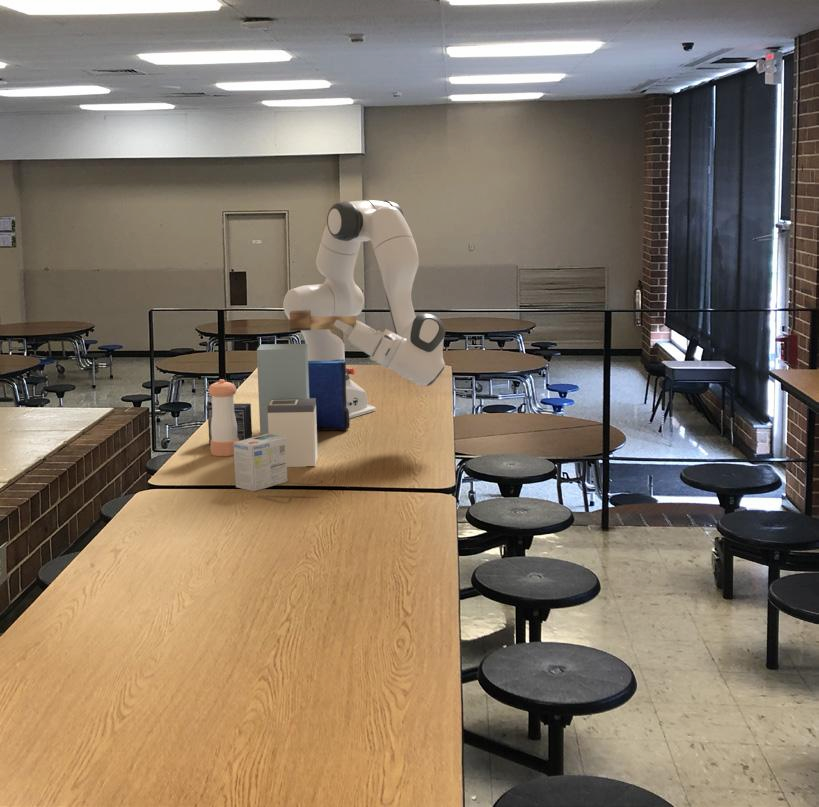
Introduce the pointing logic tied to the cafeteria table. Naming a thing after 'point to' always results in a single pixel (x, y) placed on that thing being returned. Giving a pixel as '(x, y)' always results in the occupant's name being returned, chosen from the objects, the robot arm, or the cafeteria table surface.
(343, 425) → the blue fabric case
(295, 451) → the card box
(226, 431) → the salt shaker
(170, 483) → the cafeteria table surface
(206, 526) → the cafeteria table surface
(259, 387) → the stand
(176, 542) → the cafeteria table surface
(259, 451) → the light bulb box
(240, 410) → the small box
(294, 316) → the stamp
